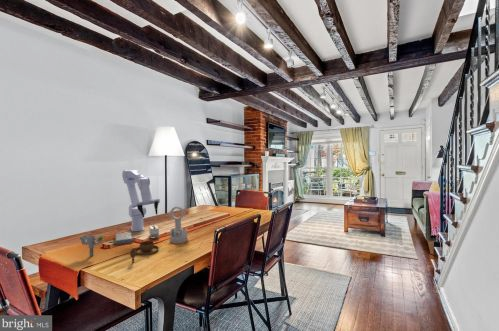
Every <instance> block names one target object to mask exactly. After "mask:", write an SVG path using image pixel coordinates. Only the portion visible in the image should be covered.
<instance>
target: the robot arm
mask: <svg viewBox="0 0 499 331" xmlns="http://www.w3.org/2000/svg"><path fill="white" fill-rule="evenodd" d="M121 176H122V181H123V183H124V184H126V187H127V191H128V194H129V197H130V202H131V203H130V205H129V207H128V216H129V217H131V227H130V232H131V233H132V232H139V231H140V232H141V231H145V227H144V218H145V215H146V214H147V209H146V208H147V207H146V206H148V205H153V207H154V211H155V215H156V216H157V215H158V206H159V203H161V200H160V198H157V199H153V198H152V193H151V189H150V184H151V181H150V177H145V176H144V175H143V174H142V173H140V172H139V170H138V169H123V170H122V175H121ZM136 185H137V187H138V190H139V191H140V196H141V200H142V201H140V200H139V195H138V192H137V188H136Z"/></svg>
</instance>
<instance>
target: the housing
mask: <svg viewBox="0 0 499 331" xmlns="http://www.w3.org/2000/svg"><path fill="white" fill-rule="evenodd" d="M148 228H149V229H148V230H149V234H150V236H151V237H155V239H159V238H160V237H159V235H160V228H159V227H158V225H155V224H154V225H149V227H148ZM149 234H148V235H149ZM150 236H149V237H150Z"/></svg>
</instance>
